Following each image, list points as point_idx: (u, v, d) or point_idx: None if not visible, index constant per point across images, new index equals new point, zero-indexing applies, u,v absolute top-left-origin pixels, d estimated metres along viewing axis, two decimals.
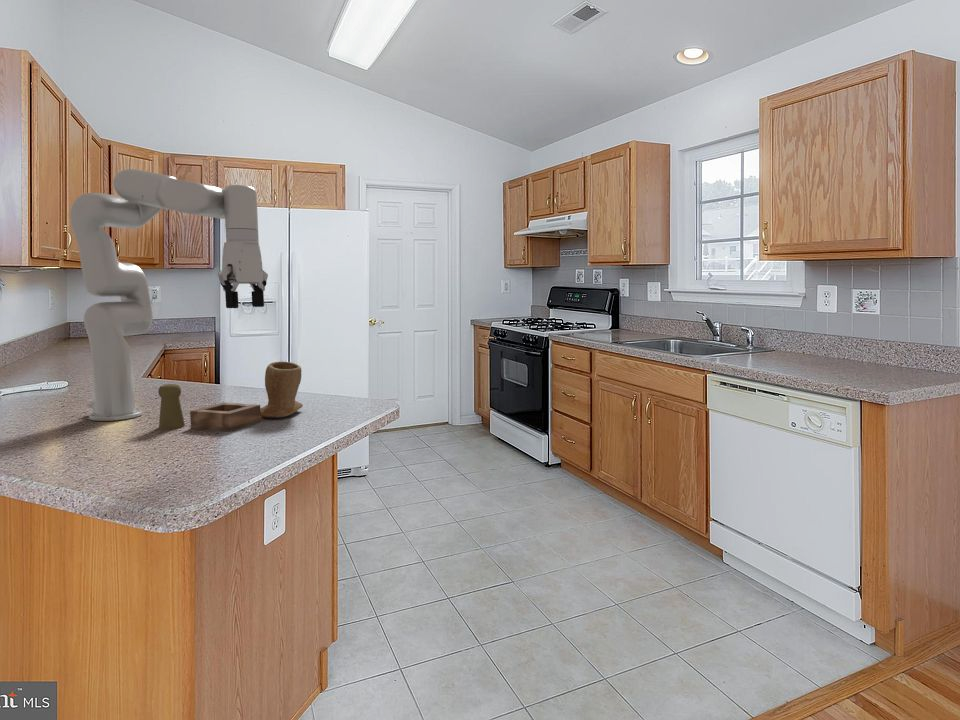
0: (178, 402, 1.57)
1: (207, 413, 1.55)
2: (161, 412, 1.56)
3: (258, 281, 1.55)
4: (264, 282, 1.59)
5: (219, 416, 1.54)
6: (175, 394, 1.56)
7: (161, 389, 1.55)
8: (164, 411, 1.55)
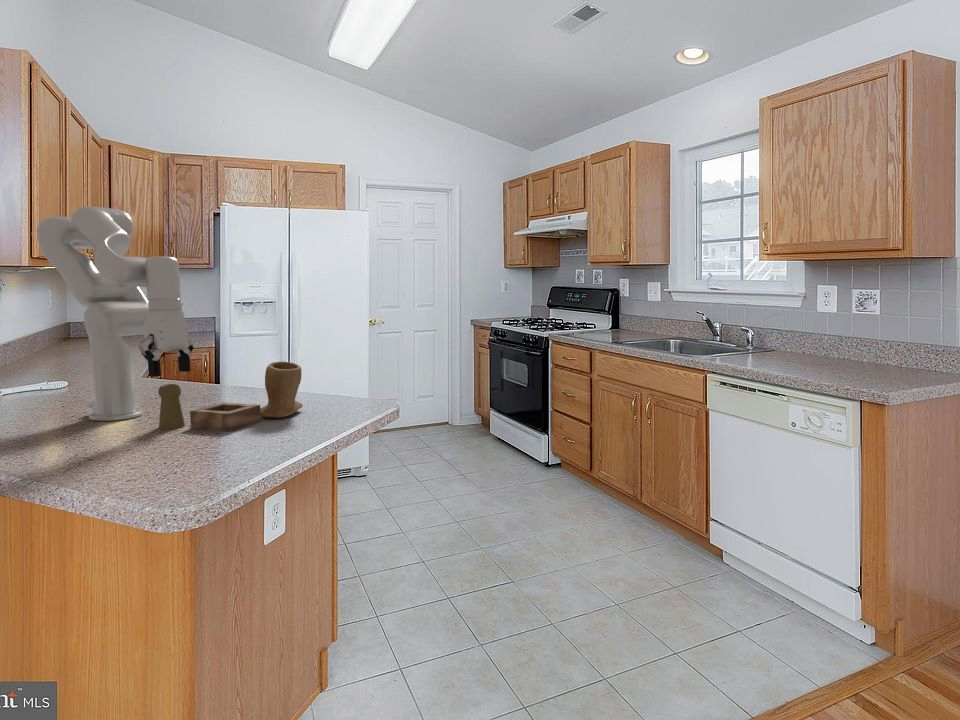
0: (178, 402, 1.57)
1: (207, 413, 1.55)
2: (161, 412, 1.56)
3: (183, 347, 1.58)
4: (191, 347, 1.62)
5: (219, 416, 1.54)
6: (175, 394, 1.56)
7: (161, 389, 1.55)
8: (164, 411, 1.55)
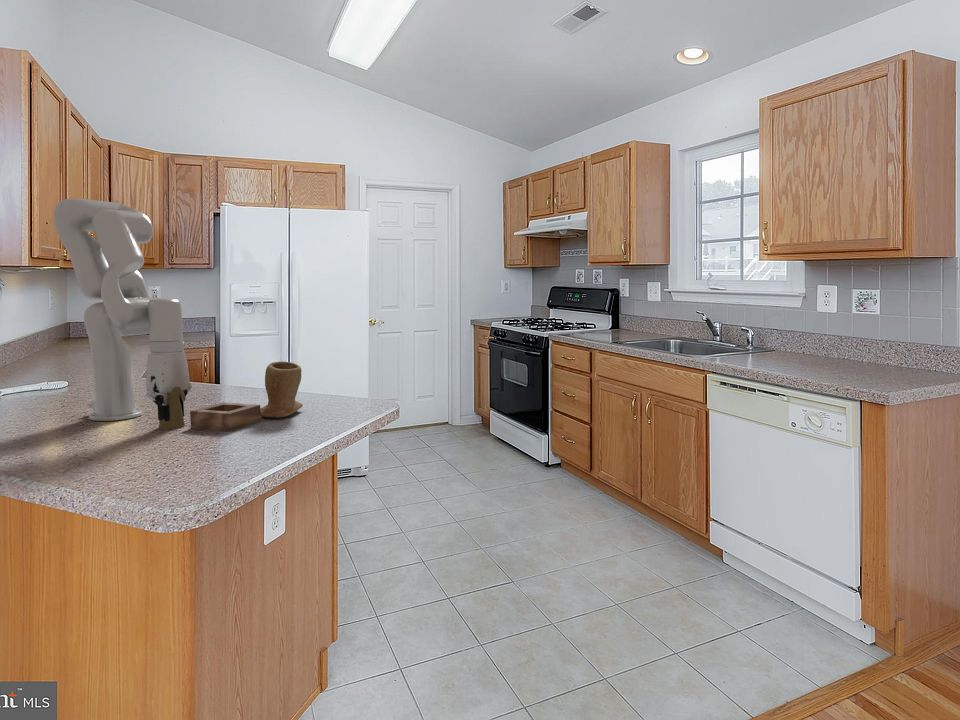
0: (178, 402, 1.57)
1: (207, 413, 1.55)
2: None
3: (184, 387, 1.59)
4: (185, 392, 1.61)
5: (219, 416, 1.54)
6: (175, 394, 1.56)
7: None
8: None
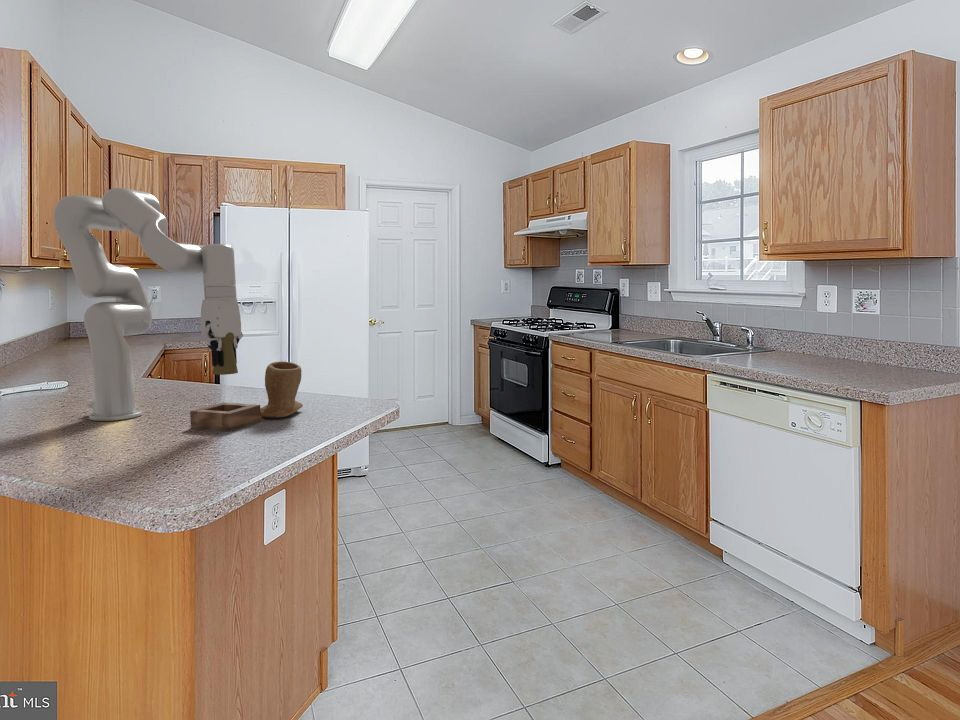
0: (232, 348, 1.58)
1: (207, 413, 1.55)
2: None
3: (236, 334, 1.60)
4: (237, 339, 1.62)
5: (219, 416, 1.54)
6: (229, 340, 1.56)
7: None
8: None
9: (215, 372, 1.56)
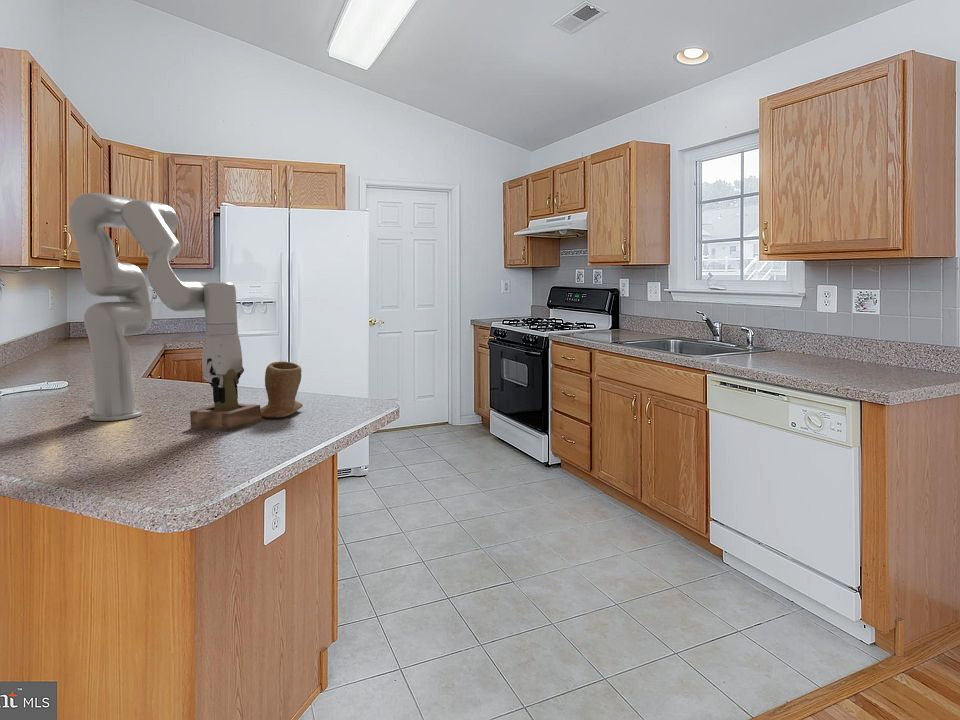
0: (233, 384, 1.59)
1: (207, 413, 1.55)
2: None
3: (238, 370, 1.61)
4: (238, 375, 1.63)
5: (219, 416, 1.54)
6: (230, 376, 1.58)
7: None
8: None
9: (216, 408, 1.57)
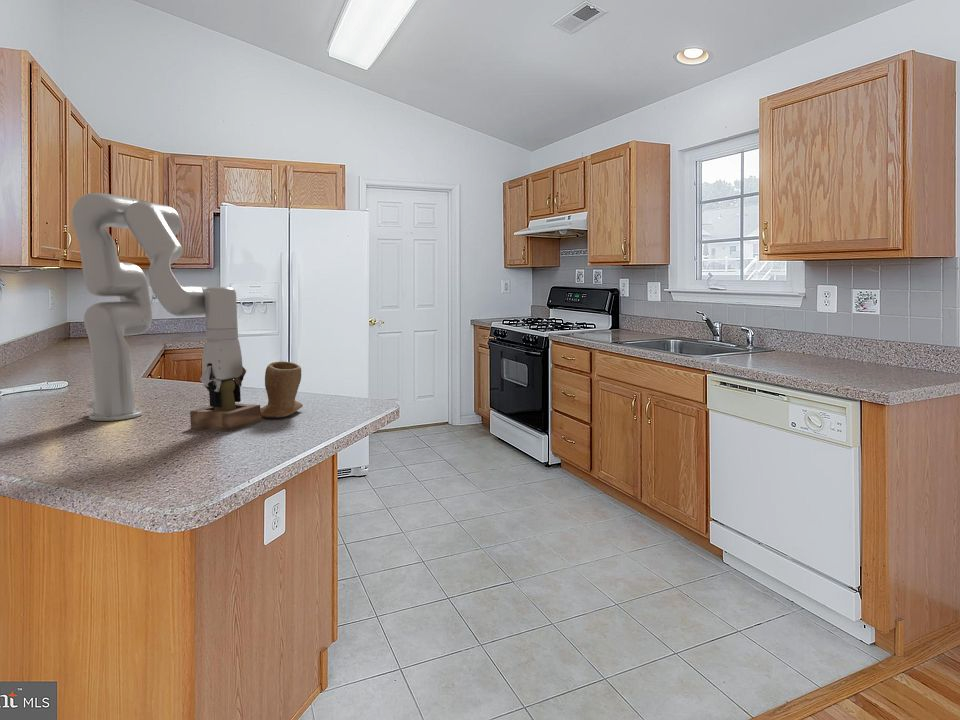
0: (232, 396, 1.60)
1: (207, 413, 1.55)
2: None
3: (238, 375, 1.61)
4: (241, 377, 1.64)
5: (219, 416, 1.54)
6: (230, 388, 1.58)
7: None
8: None
9: None
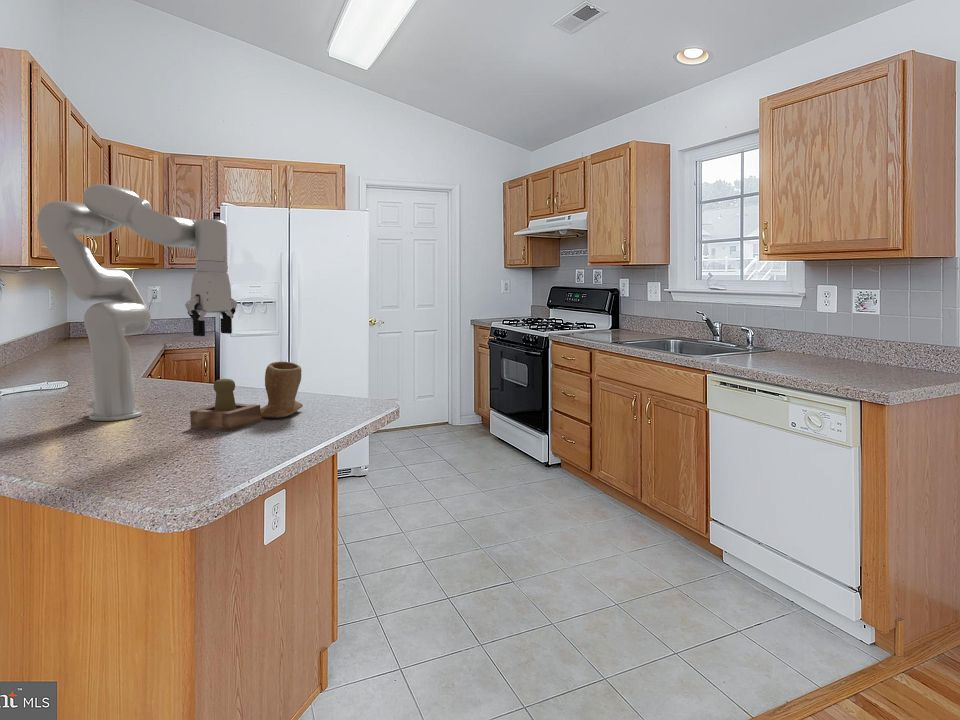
0: (232, 397, 1.60)
1: (207, 413, 1.55)
2: (216, 406, 1.58)
3: (226, 310, 1.62)
4: (233, 310, 1.66)
5: (219, 416, 1.54)
6: (230, 389, 1.58)
7: (217, 384, 1.57)
8: (219, 405, 1.58)
9: None
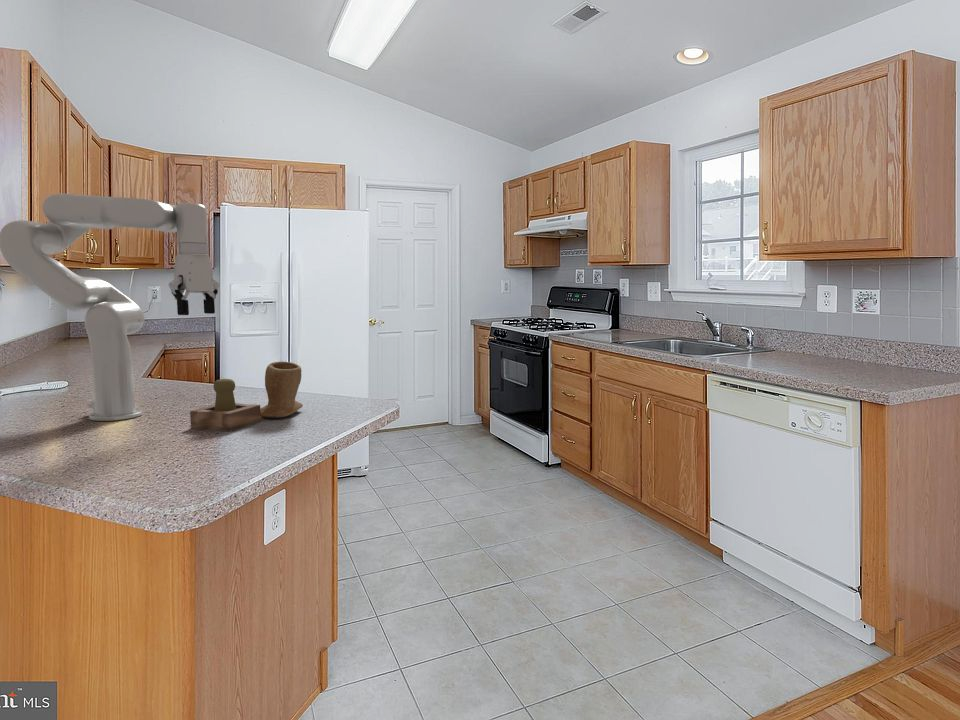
0: (232, 397, 1.60)
1: (207, 413, 1.55)
2: (216, 406, 1.58)
3: (209, 290, 1.69)
4: (215, 291, 1.73)
5: (219, 416, 1.54)
6: (230, 389, 1.58)
7: (217, 384, 1.57)
8: (219, 405, 1.58)
9: None
